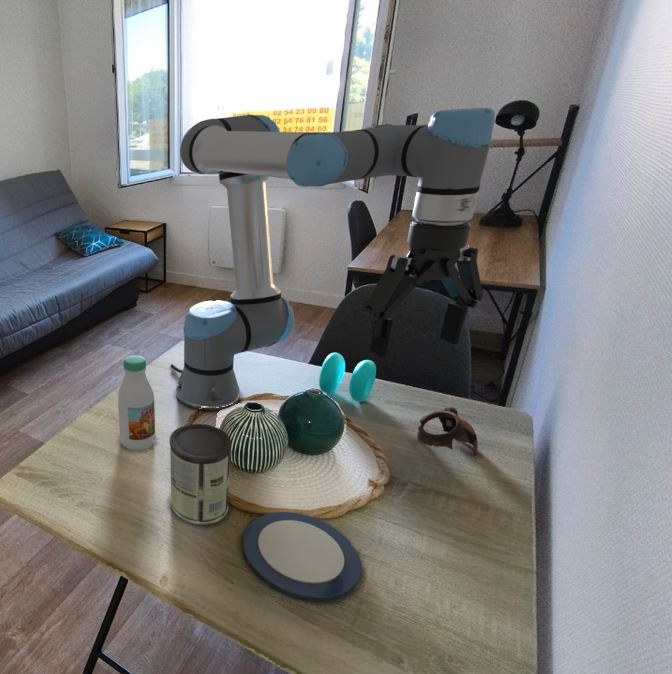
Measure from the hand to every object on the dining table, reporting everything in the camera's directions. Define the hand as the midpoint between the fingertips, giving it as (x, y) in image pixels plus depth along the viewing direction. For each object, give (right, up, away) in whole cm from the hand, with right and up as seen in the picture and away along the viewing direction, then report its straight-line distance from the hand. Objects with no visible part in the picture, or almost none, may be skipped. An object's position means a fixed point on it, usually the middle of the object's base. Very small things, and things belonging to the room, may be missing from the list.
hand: (413, 347), depth 85 cm
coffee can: (-34, -29, +7) cm, 46 cm away
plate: (-21, -33, -5) cm, 40 cm away
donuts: (+8, -12, +36) cm, 39 cm away
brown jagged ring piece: (+18, -20, +17) cm, 32 cm away
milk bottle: (-43, -21, +26) cm, 55 cm away
